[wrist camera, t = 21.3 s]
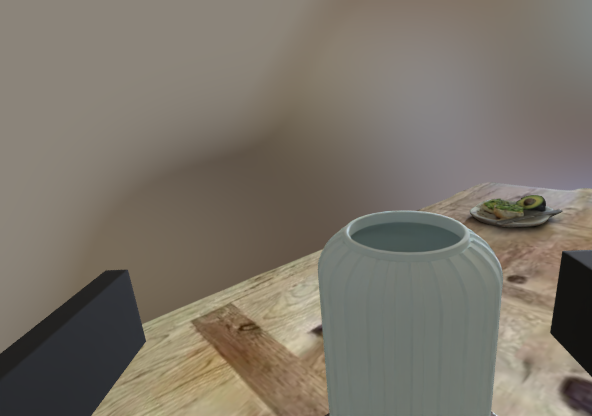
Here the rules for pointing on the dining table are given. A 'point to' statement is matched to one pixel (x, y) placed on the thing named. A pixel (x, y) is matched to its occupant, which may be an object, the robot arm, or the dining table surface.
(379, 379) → the vase
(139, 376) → the dining table surface
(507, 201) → the avocado toast plate
